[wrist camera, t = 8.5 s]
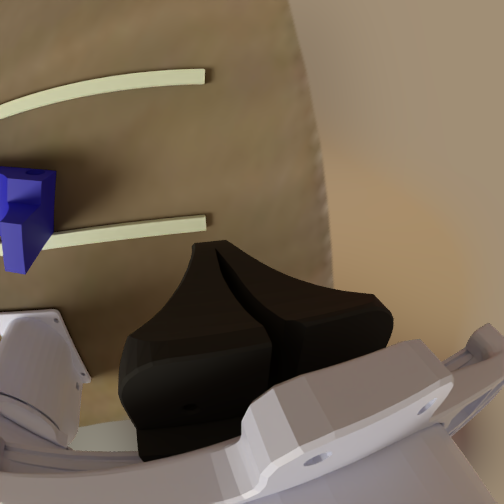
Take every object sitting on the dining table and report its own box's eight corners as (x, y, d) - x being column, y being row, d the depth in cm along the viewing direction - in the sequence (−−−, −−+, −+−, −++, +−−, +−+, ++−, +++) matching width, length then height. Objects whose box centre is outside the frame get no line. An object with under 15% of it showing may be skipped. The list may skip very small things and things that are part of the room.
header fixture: (205, 227, 21) (217, 262, 17) (-52, 262, 14) (-78, 293, 10) (203, 69, 16) (217, 56, 11) (-77, 142, 9) (-113, 157, 5)
